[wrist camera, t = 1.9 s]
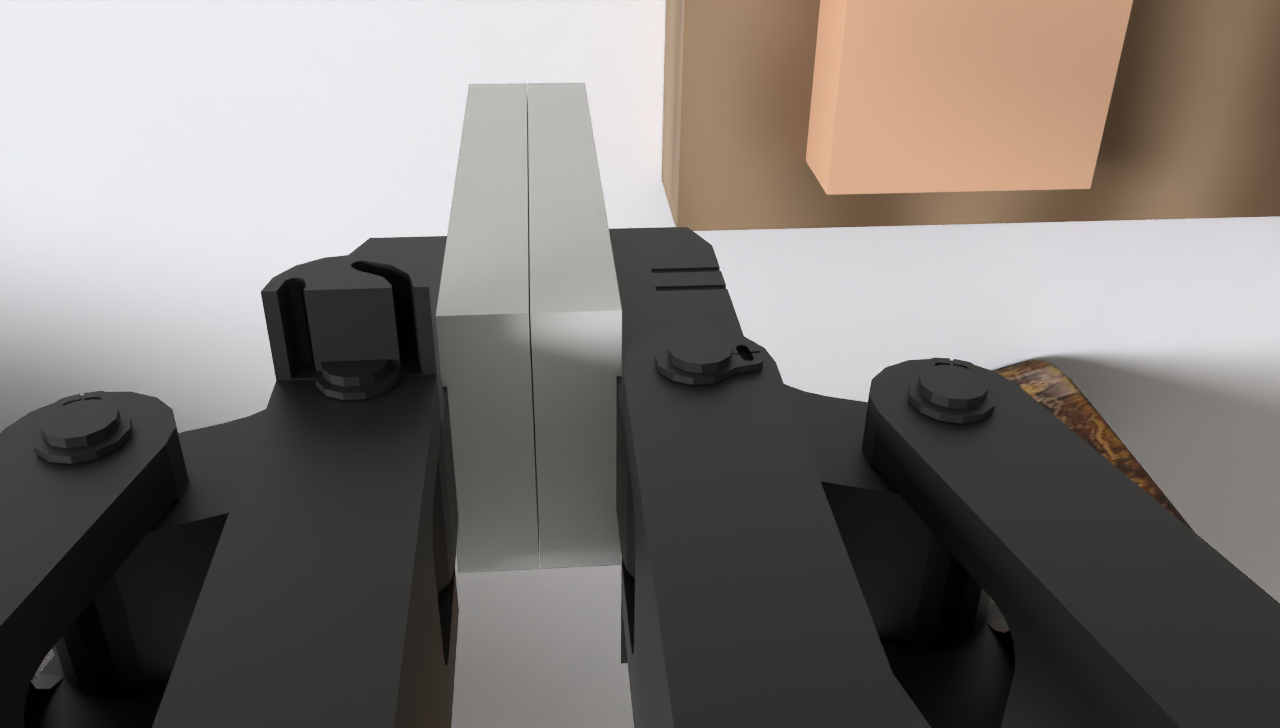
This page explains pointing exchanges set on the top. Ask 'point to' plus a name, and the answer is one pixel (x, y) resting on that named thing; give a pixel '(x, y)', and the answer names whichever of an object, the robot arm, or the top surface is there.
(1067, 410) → the book
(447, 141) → the top surface
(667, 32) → the tan panel
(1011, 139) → the block
